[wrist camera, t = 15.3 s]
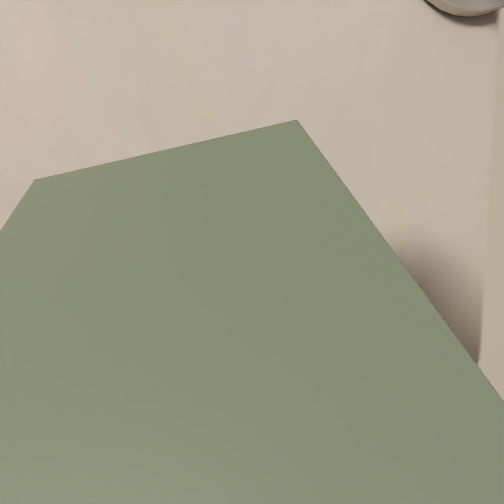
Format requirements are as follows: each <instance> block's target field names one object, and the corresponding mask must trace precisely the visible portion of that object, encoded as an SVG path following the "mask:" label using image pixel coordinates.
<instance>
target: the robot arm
mask: <svg viewBox="0 0 504 504" xmlns="http://www.w3.org/2000/svg"><path fill="white" fill-rule="evenodd" d="M427 1H429V2H430V3H431V4H433V5H434V6H436V7H437V8H438V9H440V10H442V11H445V12H447V13H450V14H452V15H458V16H466V17H470V16H479V15H485V14H487V13H490V12H493V11H496V10H499V9H500V8H502V7H504V0H427Z"/></svg>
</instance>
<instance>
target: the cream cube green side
mask: <svg viewBox="0 0 504 504" xmlns="http://www.w3.org/2000/svg"><path fill="white" fill-rule="evenodd" d="M0 504H504V401H503V400H502V399H501V397H500V396H499V394H498V393H497V391H496V390H495V389H494V387H493V386H492V385H491V383H490V382H489V381H488V379H487V378H486V377H485V375H484V374H483V372H482V371H481V370H480V368H479V367H478V366H477V364H476V363H475V362H474V360H473V359H472V357H471V356H470V355H469V353H468V352H467V351H466V349H465V348H464V347H463V345H462V344H461V342H460V341H459V340H458V338H457V337H456V336H455V334H454V333H453V332H452V330H451V329H450V327H449V326H448V325H447V323H446V322H445V321H444V319H443V318H442V317H441V315H440V314H439V312H438V311H437V310H436V308H435V307H434V306H433V304H432V303H431V302H430V300H429V299H428V297H427V296H426V295H425V293H424V292H423V291H422V289H421V288H420V287H419V285H418V284H417V282H416V281H415V280H414V278H413V277H412V276H411V274H410V273H409V272H408V270H407V269H406V268H405V266H404V265H403V263H402V262H401V261H400V259H399V258H398V257H397V255H396V254H395V253H394V251H393V250H392V248H391V247H390V246H389V244H388V243H387V242H386V240H385V239H384V238H383V236H382V235H381V233H380V232H379V231H378V229H377V228H376V227H375V225H374V224H373V223H372V221H371V220H370V218H369V217H368V216H367V214H366V213H365V212H364V210H363V209H362V208H361V206H360V205H359V203H358V202H357V201H356V199H355V198H354V197H353V195H352V194H351V193H350V191H349V190H348V188H347V187H346V186H345V184H344V183H343V182H342V180H341V179H340V178H339V176H338V175H337V173H336V172H335V171H334V169H333V168H332V167H331V165H330V164H329V163H328V161H327V160H326V159H325V157H324V156H323V154H322V153H321V152H320V150H319V149H318V148H317V146H316V145H315V144H314V142H313V141H312V139H311V138H310V137H309V135H308V134H307V133H306V131H305V130H304V129H303V127H302V126H301V124H300V123H299V122H298V120H293V121H289V122H285V123H280V124H276V125H272V126H267V127H263V128H259V129H254V130H250V131H246V132H241V133H237V134H233V135H228V136H224V137H219V138H215V139H211V140H206V141H202V142H198V143H193V144H189V145H185V146H180V147H176V148H172V149H167V150H163V151H158V152H154V153H150V154H145V155H141V156H137V157H132V158H128V159H124V160H119V161H115V162H111V163H106V164H102V165H97V166H93V167H89V168H84V169H80V170H76V171H71V172H67V173H63V174H58V175H54V176H50V177H45V178H41V179H37V180H34V181H33V183H32V184H31V186H30V187H29V189H28V190H27V192H26V193H25V195H24V196H23V198H22V199H21V201H20V202H19V204H18V205H17V207H16V208H15V210H14V211H13V213H12V214H11V216H10V217H9V219H8V220H7V222H6V223H5V225H4V226H3V228H2V229H1V231H0Z"/></svg>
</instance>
